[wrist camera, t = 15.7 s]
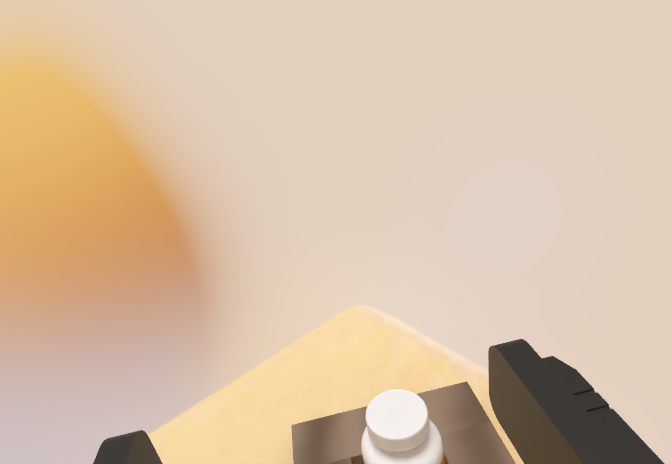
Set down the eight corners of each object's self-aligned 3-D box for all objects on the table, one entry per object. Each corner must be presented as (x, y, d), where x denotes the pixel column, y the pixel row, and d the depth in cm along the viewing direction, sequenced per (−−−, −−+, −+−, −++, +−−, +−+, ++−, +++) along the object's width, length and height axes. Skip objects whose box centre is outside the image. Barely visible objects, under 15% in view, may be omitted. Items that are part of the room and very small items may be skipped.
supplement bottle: (437, 467, 34) (426, 373, 30) (460, 540, 29) (451, 440, 25) (370, 479, 34) (350, 387, 30) (381, 554, 29) (359, 457, 25)
